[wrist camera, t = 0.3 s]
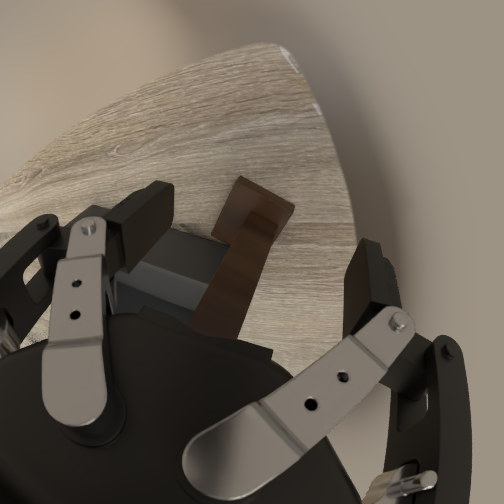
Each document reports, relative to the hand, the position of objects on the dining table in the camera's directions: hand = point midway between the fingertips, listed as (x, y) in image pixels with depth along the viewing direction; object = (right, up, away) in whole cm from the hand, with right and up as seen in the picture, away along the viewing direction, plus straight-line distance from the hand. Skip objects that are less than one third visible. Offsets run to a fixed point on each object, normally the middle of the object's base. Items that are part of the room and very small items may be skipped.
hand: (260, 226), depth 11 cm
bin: (-13, -3, +25) cm, 29 cm away
